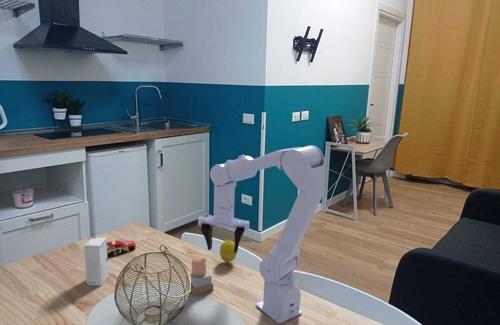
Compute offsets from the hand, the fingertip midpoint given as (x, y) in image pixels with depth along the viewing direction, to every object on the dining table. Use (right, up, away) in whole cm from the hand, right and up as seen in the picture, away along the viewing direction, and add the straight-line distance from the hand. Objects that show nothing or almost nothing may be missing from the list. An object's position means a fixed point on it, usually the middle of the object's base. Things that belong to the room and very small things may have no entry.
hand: (222, 250), depth 106 cm
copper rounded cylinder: (-7, -6, -2) cm, 9 cm away
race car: (-37, -6, +18) cm, 42 cm away
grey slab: (-7, -9, -2) cm, 11 cm away
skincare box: (-36, -9, 0) cm, 38 cm away
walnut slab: (-7, -11, -2) cm, 13 cm away
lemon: (+1, -8, +14) cm, 16 cm away
